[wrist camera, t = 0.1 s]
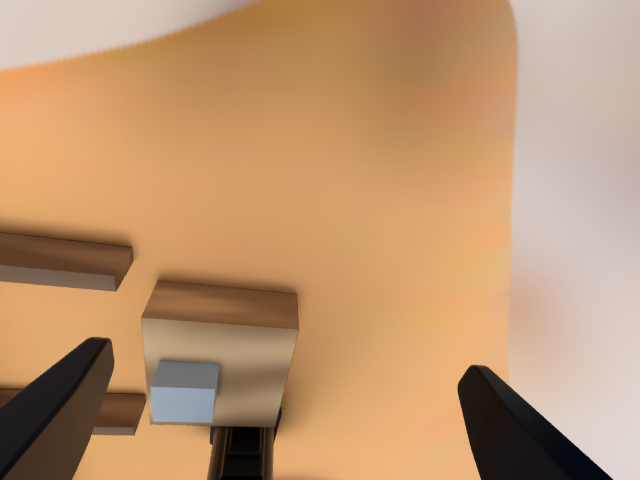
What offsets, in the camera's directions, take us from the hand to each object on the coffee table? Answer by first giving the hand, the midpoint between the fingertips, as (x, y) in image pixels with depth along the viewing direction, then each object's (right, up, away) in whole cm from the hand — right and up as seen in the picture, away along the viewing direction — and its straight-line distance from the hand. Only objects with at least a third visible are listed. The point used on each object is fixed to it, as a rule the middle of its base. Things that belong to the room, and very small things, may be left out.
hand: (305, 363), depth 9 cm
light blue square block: (-9, -7, +17) cm, 21 cm away
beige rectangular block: (-8, -5, +21) cm, 23 cm away
